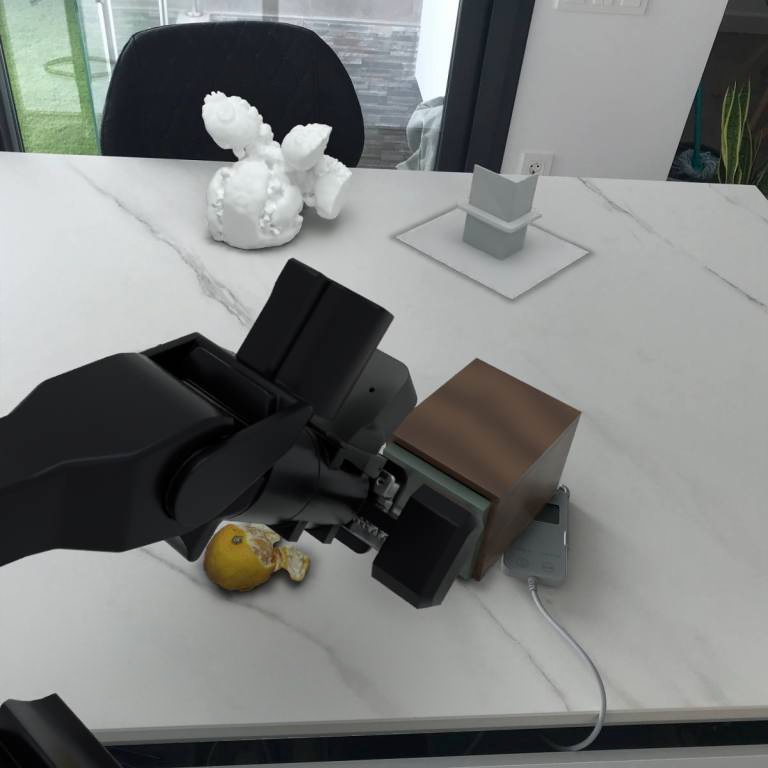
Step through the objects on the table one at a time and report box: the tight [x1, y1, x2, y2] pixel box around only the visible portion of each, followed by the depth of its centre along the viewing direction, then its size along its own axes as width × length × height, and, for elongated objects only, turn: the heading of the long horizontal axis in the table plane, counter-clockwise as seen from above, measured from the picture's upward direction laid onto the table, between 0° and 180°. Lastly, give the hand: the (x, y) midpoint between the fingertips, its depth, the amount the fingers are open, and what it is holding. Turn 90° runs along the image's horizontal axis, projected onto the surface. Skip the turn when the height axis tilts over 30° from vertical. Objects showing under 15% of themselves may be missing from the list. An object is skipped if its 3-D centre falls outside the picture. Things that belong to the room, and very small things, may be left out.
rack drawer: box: [382, 442, 491, 580], centre depth 67 cm, size 16×10×9 cm, turn 142°
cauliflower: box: [201, 90, 353, 251], centre depth 107 cm, size 19×20×20 cm
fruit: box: [202, 523, 311, 592], centre depth 65 cm, size 8×8×4 cm
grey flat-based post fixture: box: [394, 164, 590, 300], centre depth 107 cm, size 19×21×12 cm
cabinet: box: [385, 357, 583, 582], centre depth 69 cm, size 14×11×11 cm
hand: (384, 494), depth 55 cm, fingers closed
